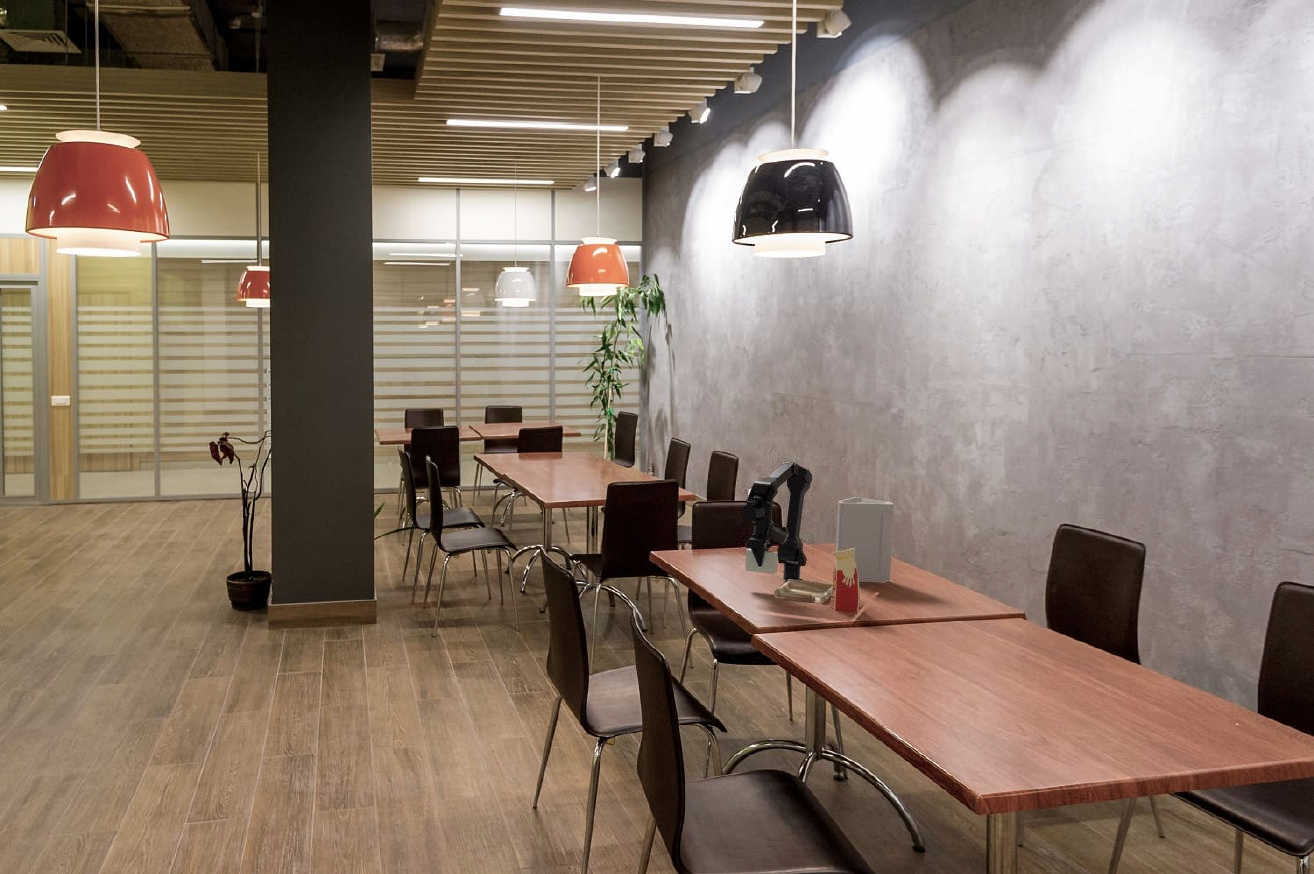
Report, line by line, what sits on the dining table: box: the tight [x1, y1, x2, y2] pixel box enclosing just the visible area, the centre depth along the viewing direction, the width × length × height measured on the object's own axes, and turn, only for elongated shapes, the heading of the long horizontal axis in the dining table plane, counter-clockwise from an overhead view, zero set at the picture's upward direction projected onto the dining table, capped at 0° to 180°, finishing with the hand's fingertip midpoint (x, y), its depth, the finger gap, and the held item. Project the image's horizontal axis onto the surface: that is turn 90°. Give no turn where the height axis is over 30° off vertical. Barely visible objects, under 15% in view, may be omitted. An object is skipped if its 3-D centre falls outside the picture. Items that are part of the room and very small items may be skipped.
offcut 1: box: [785, 591, 812, 598], centre depth 340 cm, size 4×8×1 cm, turn 74°
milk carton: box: [829, 548, 861, 614], centre depth 330 cm, size 9×9×20 cm
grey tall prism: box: [834, 497, 895, 583], centre depth 378 cm, size 19×15×28 cm
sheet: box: [745, 548, 778, 575], centre depth 351 cm, size 2×10×7 cm, turn 68°
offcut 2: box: [784, 596, 815, 603], centre depth 340 cm, size 4×9×1 cm, turn 68°
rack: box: [773, 579, 833, 604], centre depth 347 cm, size 18×16×4 cm
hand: (761, 565), depth 351 cm, fingers closed on sheet, 2 cm apart
